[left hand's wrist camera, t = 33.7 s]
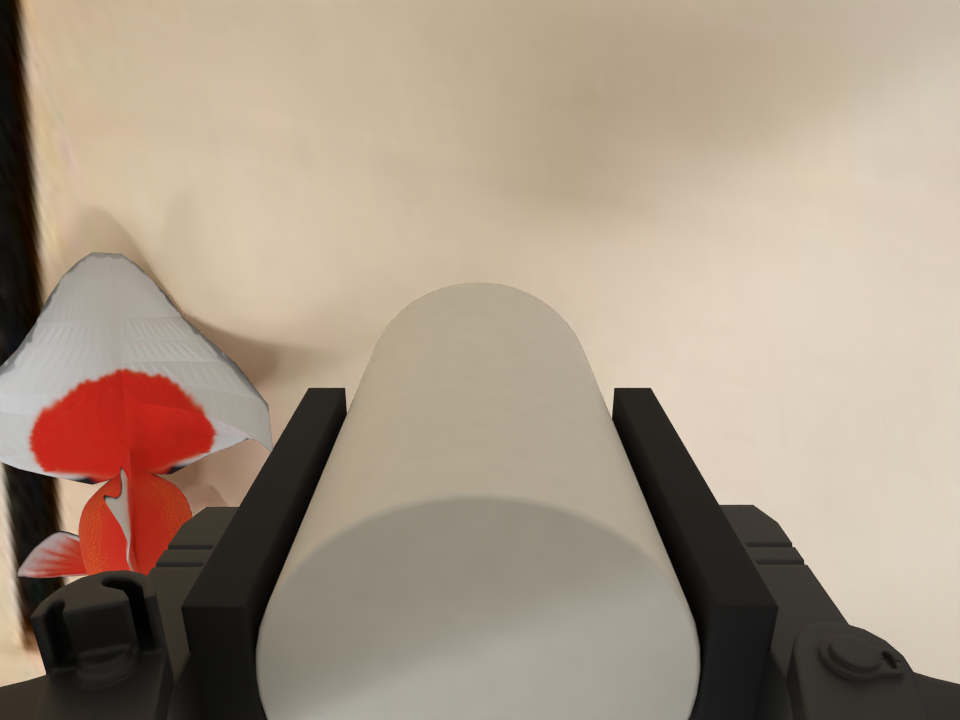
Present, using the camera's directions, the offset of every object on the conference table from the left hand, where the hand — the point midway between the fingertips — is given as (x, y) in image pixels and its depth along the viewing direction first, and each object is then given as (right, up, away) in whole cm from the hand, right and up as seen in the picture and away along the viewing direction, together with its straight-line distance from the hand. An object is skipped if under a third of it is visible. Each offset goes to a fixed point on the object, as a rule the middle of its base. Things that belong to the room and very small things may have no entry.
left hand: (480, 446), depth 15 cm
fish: (-14, -1, +16) cm, 21 cm away
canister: (0, +1, +3) cm, 3 cm away
